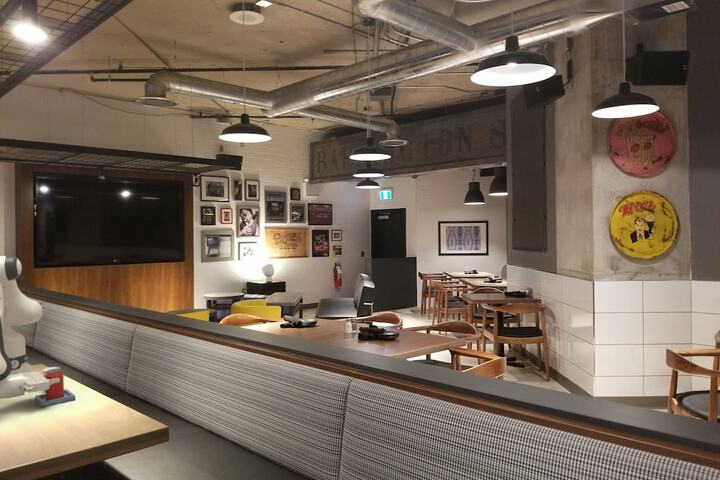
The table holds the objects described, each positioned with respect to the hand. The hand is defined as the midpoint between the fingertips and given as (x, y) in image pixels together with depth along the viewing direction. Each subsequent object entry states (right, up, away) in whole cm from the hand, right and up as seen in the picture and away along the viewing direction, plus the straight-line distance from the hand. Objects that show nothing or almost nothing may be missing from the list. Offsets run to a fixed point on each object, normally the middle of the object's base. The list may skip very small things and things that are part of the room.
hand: (56, 377), depth 216 cm
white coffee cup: (-9, -10, +12) cm, 18 cm away
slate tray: (-1, -9, 0) cm, 9 cm away
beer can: (-1, -9, 0) cm, 9 cm away
